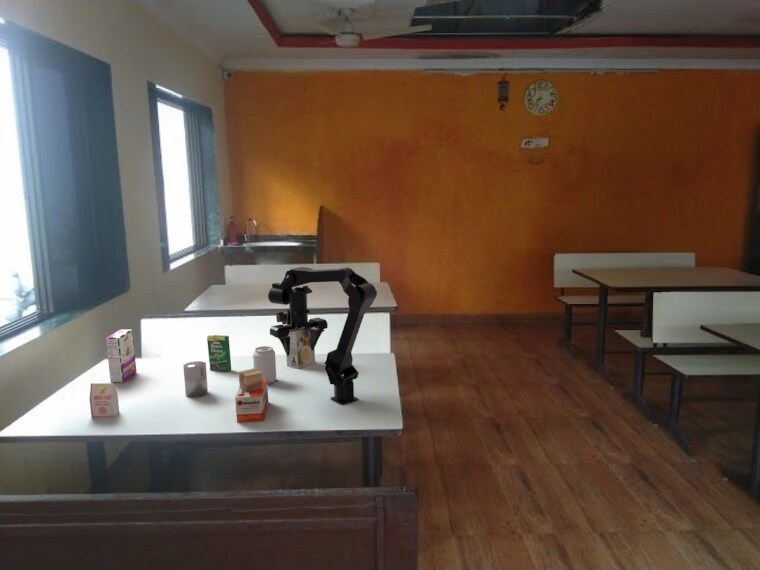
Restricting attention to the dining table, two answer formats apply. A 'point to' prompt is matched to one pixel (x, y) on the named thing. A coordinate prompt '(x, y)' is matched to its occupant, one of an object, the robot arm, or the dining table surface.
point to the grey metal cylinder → (195, 379)
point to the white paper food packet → (103, 400)
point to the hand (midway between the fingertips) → (300, 352)
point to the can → (265, 363)
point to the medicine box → (252, 404)
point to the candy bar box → (121, 356)
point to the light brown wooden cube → (250, 380)
